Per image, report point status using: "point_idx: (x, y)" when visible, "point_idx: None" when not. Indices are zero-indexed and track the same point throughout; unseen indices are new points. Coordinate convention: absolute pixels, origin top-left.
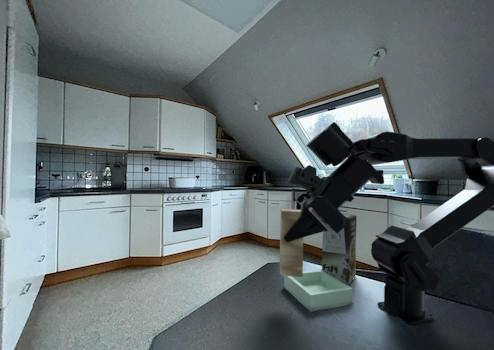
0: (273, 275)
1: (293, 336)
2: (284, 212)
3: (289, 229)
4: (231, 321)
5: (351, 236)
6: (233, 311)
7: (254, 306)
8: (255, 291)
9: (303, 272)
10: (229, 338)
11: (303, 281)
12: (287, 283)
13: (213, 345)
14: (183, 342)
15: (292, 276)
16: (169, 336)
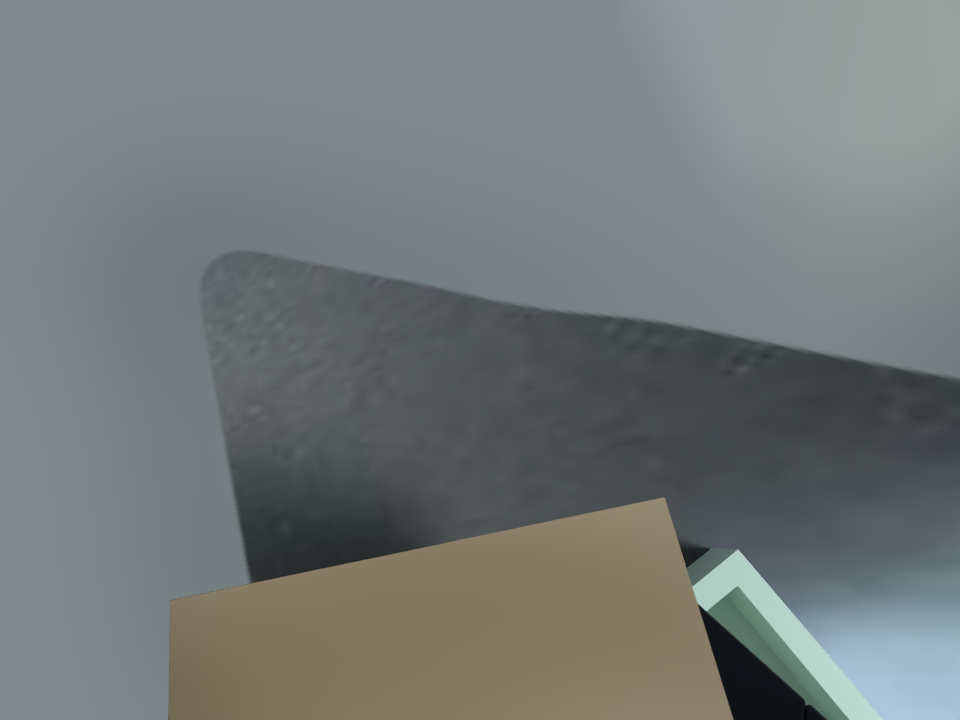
0: (845, 459)
1: None
2: (187, 653)
3: None
4: (334, 390)
5: None
6: (395, 374)
7: (457, 442)
8: (589, 410)
9: (844, 694)
10: (251, 416)
11: (801, 681)
12: (690, 575)
13: (214, 384)
14: (211, 303)
15: (752, 607)
16: (226, 257)
